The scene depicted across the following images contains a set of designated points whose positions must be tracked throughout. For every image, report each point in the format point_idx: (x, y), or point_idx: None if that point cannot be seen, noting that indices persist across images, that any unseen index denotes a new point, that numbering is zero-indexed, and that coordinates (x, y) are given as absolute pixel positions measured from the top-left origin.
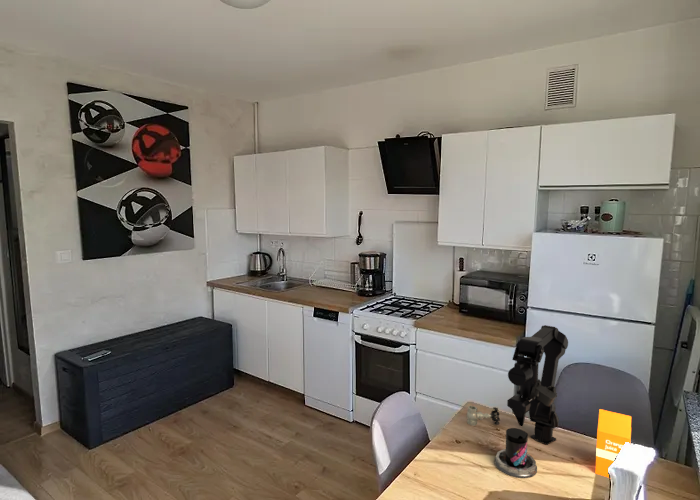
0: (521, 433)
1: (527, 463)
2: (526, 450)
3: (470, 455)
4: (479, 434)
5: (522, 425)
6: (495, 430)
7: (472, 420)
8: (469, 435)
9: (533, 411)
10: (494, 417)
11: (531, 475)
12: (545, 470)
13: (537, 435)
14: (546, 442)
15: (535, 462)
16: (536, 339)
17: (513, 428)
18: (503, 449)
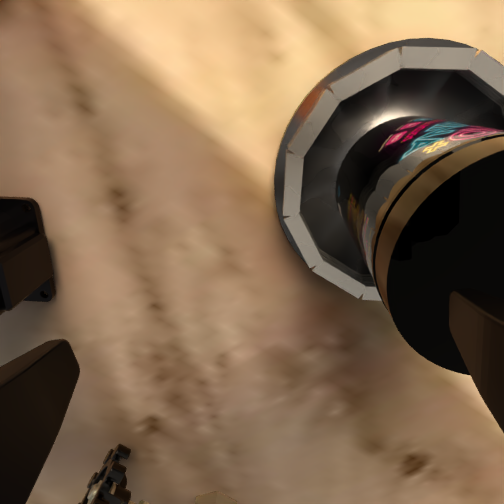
0: (480, 239)
1: (342, 138)
2: (441, 128)
3: None
4: (271, 445)
5: (484, 295)
6: (170, 425)
7: None
8: (320, 463)
9: (20, 407)
10: (116, 490)
11: (444, 40)
12: (291, 30)
13: (33, 268)
14: (18, 209)
15: (343, 80)
16: None
17: (429, 350)
18: (364, 298)
